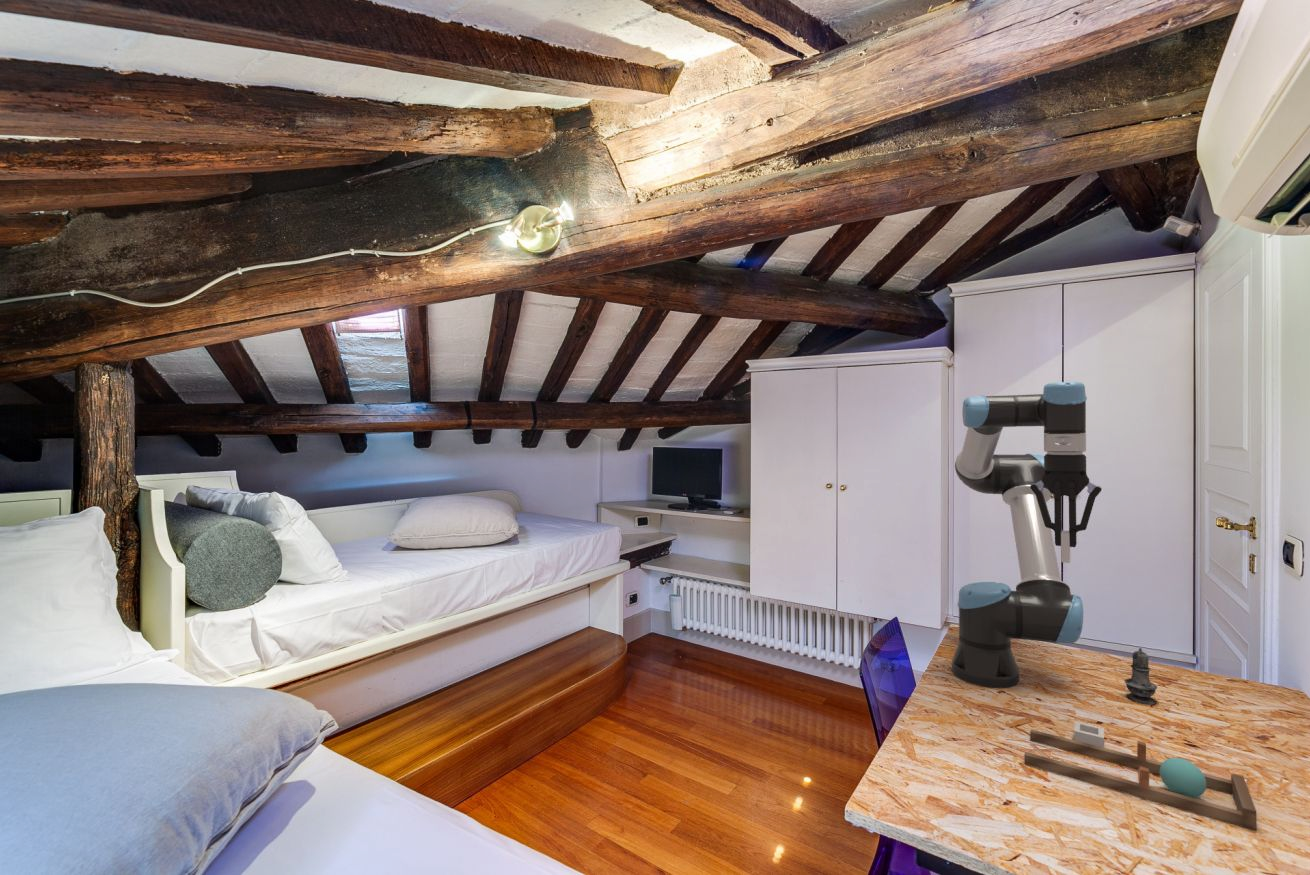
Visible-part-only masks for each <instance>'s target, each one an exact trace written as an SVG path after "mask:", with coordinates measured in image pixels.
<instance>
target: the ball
mask: <svg viewBox="0 0 1310 875" xmlns="http://www.w3.org/2000/svg"><path fill="white" fill-rule="evenodd" d="M1161 763H1162V764H1161V766H1160V775H1159V776H1160V779H1161V782H1162V783H1163V785H1164V786H1166V788H1167V789H1169V791H1170V792H1173V793H1177V794H1181V795H1184V796H1188V797H1191V798H1195V799H1197V798H1198V797H1200V796H1202V795H1203V794H1204V793H1205V792H1206V790H1207V787H1206V779H1205V777H1204V775H1203V773H1204V772H1202V771H1201V769H1200V768H1199V767H1198V766H1197V765H1195V764H1194V763H1192V761H1189V760H1188V759H1185V758H1179V757H1170V758H1167V759H1165V760H1164V761H1163V762H1161Z"/></svg>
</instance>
